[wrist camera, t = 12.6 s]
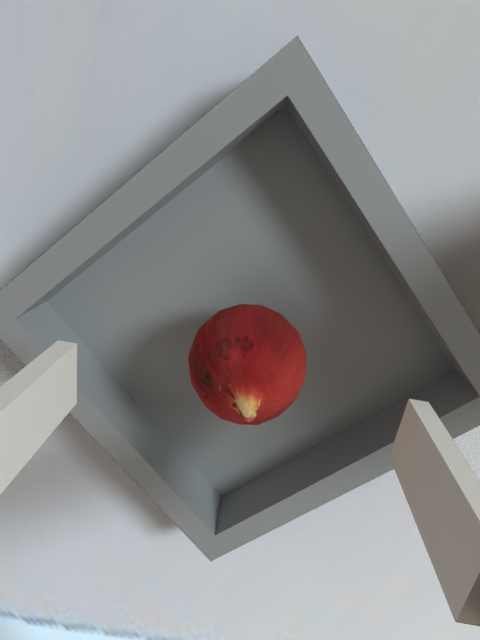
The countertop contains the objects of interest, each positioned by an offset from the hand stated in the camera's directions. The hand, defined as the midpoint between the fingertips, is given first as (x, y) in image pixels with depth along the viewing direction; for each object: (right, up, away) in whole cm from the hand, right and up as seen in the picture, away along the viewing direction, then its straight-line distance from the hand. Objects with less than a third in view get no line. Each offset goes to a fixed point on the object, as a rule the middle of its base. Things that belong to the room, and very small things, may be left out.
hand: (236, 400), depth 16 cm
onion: (+1, +2, +8) cm, 8 cm away
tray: (+1, +3, +9) cm, 9 cm away
